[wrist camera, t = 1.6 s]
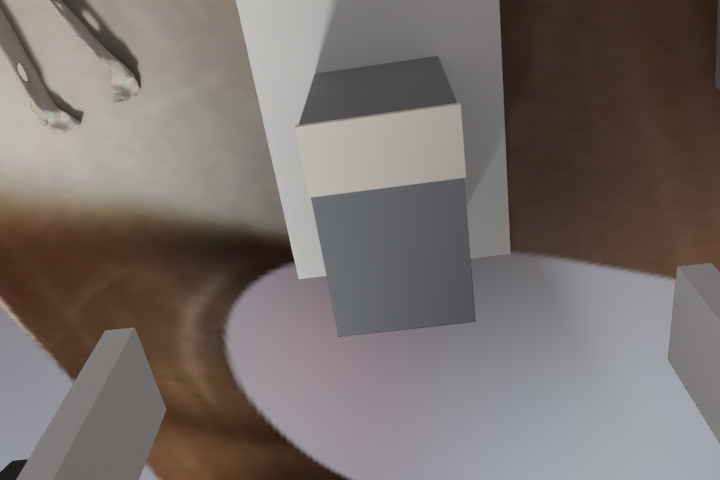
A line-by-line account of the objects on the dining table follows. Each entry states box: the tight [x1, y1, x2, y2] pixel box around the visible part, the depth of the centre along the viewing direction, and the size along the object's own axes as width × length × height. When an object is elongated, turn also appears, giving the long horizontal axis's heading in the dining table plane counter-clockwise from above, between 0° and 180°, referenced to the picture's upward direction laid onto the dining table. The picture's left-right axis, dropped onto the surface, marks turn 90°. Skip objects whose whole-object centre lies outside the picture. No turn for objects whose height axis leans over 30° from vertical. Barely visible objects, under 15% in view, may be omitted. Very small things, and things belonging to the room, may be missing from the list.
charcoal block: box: [295, 56, 475, 337], centre depth 25 cm, size 8×5×7 cm, turn 8°
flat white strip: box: [236, 0, 510, 279], centre depth 25 cm, size 23×10×1 cm, turn 8°
